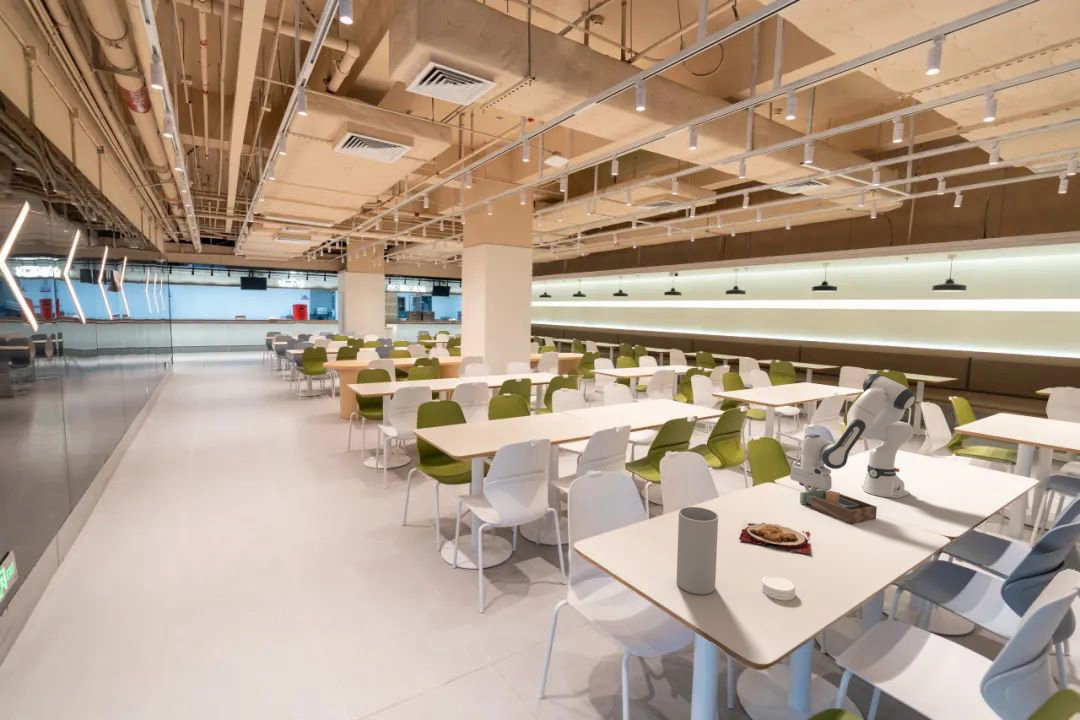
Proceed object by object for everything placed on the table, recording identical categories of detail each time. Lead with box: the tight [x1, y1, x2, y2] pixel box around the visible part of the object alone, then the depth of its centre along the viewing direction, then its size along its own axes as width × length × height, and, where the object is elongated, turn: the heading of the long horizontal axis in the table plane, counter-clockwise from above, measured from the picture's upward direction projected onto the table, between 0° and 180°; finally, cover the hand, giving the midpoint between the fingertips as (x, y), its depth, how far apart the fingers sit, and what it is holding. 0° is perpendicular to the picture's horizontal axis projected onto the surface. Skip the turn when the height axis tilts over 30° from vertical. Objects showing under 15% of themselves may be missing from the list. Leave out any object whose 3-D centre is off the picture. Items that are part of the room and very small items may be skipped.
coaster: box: [761, 575, 796, 601], centre depth 164 cm, size 10×10×4 cm
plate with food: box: [738, 522, 811, 554], centre depth 206 cm, size 24×26×4 cm
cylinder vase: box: [676, 506, 719, 596], centre depth 167 cm, size 12×12×25 cm
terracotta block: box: [826, 490, 841, 505], centre depth 237 cm, size 5×5×6 cm
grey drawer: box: [799, 489, 860, 510], centre depth 238 cm, size 17×20×6 cm
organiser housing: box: [810, 493, 878, 525], centre depth 232 cm, size 17×20×6 cm
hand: (809, 493), depth 249 cm, fingers closed
